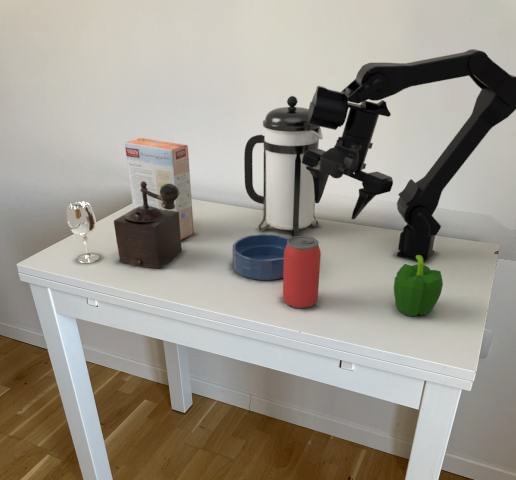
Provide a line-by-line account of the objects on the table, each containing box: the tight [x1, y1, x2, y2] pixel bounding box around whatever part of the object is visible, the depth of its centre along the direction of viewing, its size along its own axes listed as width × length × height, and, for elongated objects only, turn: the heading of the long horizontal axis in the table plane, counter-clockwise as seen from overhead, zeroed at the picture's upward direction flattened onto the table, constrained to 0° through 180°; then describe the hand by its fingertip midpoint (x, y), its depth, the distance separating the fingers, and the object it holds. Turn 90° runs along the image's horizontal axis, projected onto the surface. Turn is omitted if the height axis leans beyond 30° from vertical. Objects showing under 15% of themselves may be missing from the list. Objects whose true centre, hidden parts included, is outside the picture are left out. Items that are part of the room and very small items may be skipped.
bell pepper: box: [393, 255, 444, 317], centre depth 96 cm, size 8×8×10 cm
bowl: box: [231, 233, 291, 281], centre depth 114 cm, size 14×14×4 cm
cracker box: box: [124, 137, 195, 241], centre depth 125 cm, size 14×6×21 cm, turn 58°
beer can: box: [282, 235, 322, 309], centre depth 99 cm, size 7×7×12 cm
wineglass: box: [66, 201, 100, 264], centre depth 115 cm, size 6×6×12 cm
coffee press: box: [243, 95, 324, 238], centre depth 125 cm, size 17×16×30 cm
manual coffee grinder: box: [113, 181, 183, 269], centre depth 113 cm, size 16×11×18 cm
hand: (334, 211), depth 114 cm, fingers open, 9 cm apart
